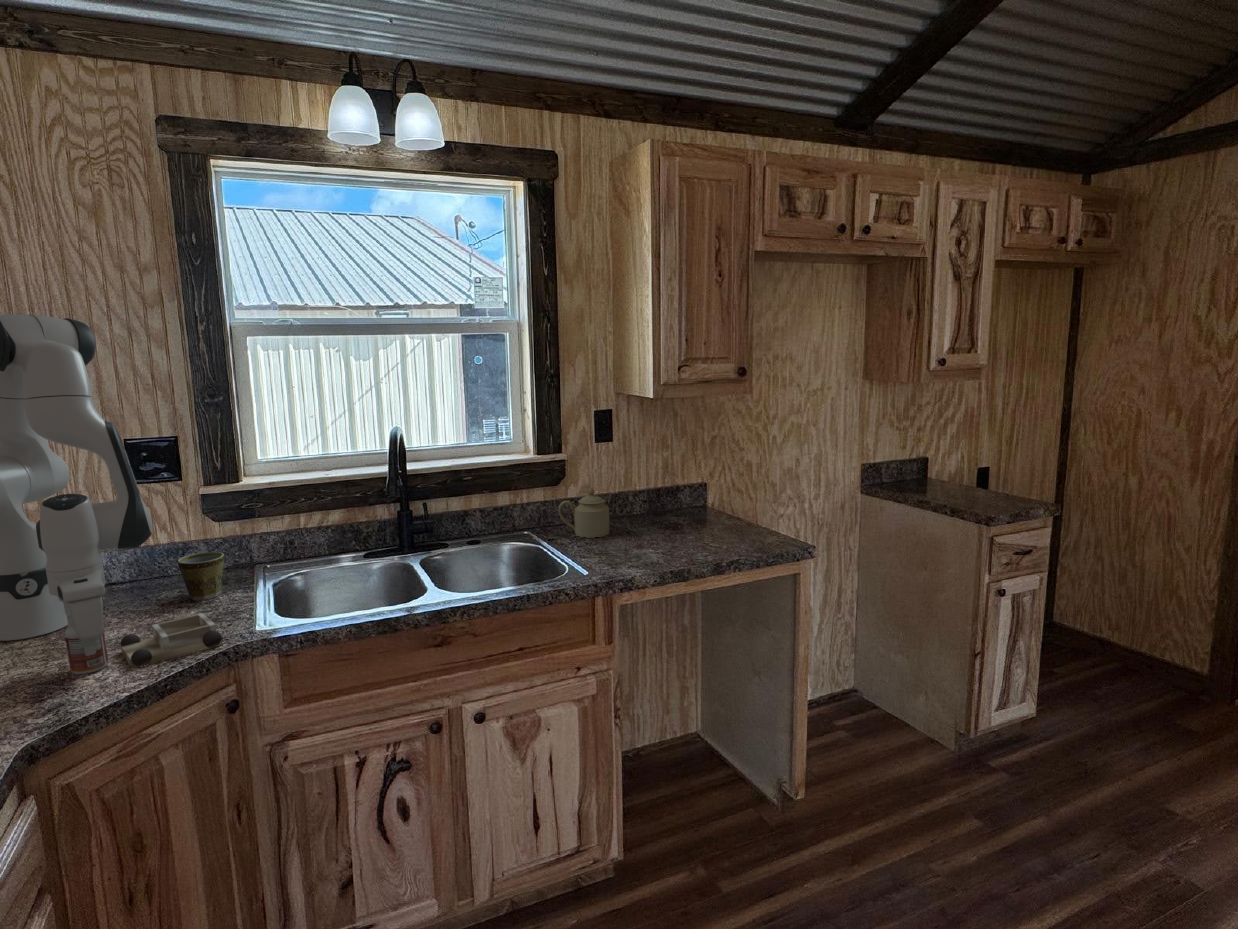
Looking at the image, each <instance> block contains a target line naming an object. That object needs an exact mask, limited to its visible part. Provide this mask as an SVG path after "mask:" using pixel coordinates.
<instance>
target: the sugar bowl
mask: <svg viewBox="0 0 1238 929" xmlns="http://www.w3.org/2000/svg"><path fill="white" fill-rule="evenodd" d="M587 493H588V495H586V496H585V495H584V496H583V497H581V498H580V499H579V500H578V501H577V502H578V505H577V506H575V505H574V504H573V503H572V502H571V501H570V500H563V501H562V502H561V503H559V505H558V515H559V516H560V518H561V520H562V521H563V522H564V523H565V525H567V526H569V527H570V528H572V529H573V531H574V534H576V535H575V536H576V537H578V536H579V538H582V537H586V538H585V539H596V538H595V537H599V538H604V537H607V536H608V535H609V534H610V508H609V506H608V505H606V504H605V503H604V502H606V500H605V499H604V498H603V497H600V496H598V495H595V490H594V488H593V487H590V488H588V492H587ZM566 504H567V505H568V506H569V507H570V509H571V512H572V516H573V518H574V519H573V520H574V521H573V522H574V523H573V524H572V523H571V522H570V521H569V520H567V519H566V518H565V516H564V514H563V510H562V508H563V506H564V505H566ZM606 535H607V536H606Z"/></svg>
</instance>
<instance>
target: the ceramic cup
mask: <svg viewBox="0 0 1238 929" xmlns="http://www.w3.org/2000/svg"><path fill="white" fill-rule="evenodd" d="M224 556H225V555H224V553H223V552H220V551H203V552H196V553H192V554H188V555H185V556H182V557H180V558H179V559H178V560H177V564H178V569H179V571H180V573H181V576H182V579H183V582H184V584H185V588H186V590H187V594H188V597H189V598H190V599H191V600H193V601H206V600H205V599H208V600H211V598H212V599H215V598H217V597H218V596H220V595H221V594H222V583H223V571H224V563H225V560H224V559H225V557H224ZM219 594H220V595H219ZM216 596H217V597H216ZM214 597H215V598H214Z"/></svg>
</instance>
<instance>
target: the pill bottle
mask: <svg viewBox="0 0 1238 929" xmlns="http://www.w3.org/2000/svg"><path fill="white" fill-rule="evenodd" d="M67 622H68V625H67V626H68V627H67V628H66V629H65V631H64V640H65V644H66V653H67V658H68V664H69V669H70V673H72V674H74V675H87V674H92V673H94V672H98V671H101V670H102V669H104V668H106V667H107V666H108V665H109V654H108V648H107V643H106V636H105V630H104V627H103V634H102V636H101V637H97V638H96V644H95V646H96V653H95V654H93V655H89V656H86V655H85V654H84V650H83V643H82V641H81V640H80V639H79V637H78V635H77V634H76V632H75V630H74V628H73V625H72V619H71V617H70V615H69V616H68V617H67Z"/></svg>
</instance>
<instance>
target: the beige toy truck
mask: <svg viewBox="0 0 1238 929" xmlns="http://www.w3.org/2000/svg"><path fill="white" fill-rule="evenodd" d="M216 626H217V625H216V623H214V622H213V621H212V620H211V619H210V618H209V617H208V616H207V615H206V614H205V613H204V612H200V613H196V614H193V615H188V616H184V617H179V618H175V619H172V620H166V621H164V622H163V621H162V622H159V623H155V624H151V630H152V637H150V638H147V639H143V640H141V638H140V637H139V636H138V635H137V634H134V633H130V634H127V635H125V636H124V637H122V638H121V641H120V650H121V654H122V655H123V657H124V659H125V660H126V661H127V662H128V664H129V666H130V665H131V666H130V667H131V668H132V669H133V668H135V669H138V668H142V667H145V666H144V665H146V666H148V665H147V664H150V665H153V664H156V663H155V662H157V663H159V662H158V661H161V662H165V661H168V660H172V659H175V658H180V657H183V656H187V655H189V654H190V655H191V654H194V653H198V652H201V651H205V650H209V649H212V648H216V647H221V646H223V639H222V634H221V633H220V632H218V631H217V628H216ZM141 666H142V667H141ZM137 667H138V668H137Z"/></svg>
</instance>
